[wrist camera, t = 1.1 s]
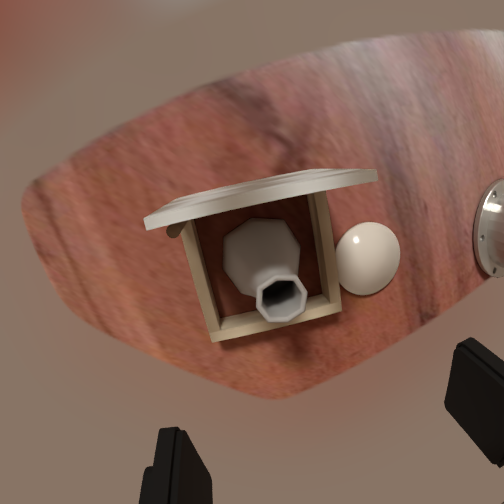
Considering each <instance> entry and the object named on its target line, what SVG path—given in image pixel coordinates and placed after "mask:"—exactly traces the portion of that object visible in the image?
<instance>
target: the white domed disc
mask: <svg viewBox="0 0 504 504" xmlns="http://www.w3.org/2000/svg"><path fill="white" fill-rule="evenodd" d="M335 255H336V263H337V271H338V279H339V283H340V284H341V285H342V286H343V287H344V288H345V289H346V290H348V291H349V292H351V293H354V294H357V295H368V294H372V293H375V292H377V291H379V290H381V289H382V288H384V287H385V286H386V285H387V284H388V283H389V282H390V281H391V279H392V278H393V277H394V275H395V273H396V271H397V268H398V265H399V261H400V247H399V243H398V241H397V238H396V236H395V235H394V234H393V232H392V231H391V230H390V229H389V228H387V227H386V226H384V225H382V224H379V223H376V222H363V223H360V224H357V225H355V226H353V227H351V228H350V229H349V230H348V231H346V232H345V233H344V234H343V236H342V237H341V238H340V240H339V242H338V243H337V245H336V248H335Z"/></svg>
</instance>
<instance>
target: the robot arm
mask: <svg viewBox="0 0 504 504" xmlns="http://www.w3.org/2000/svg"><path fill="white" fill-rule="evenodd" d="M473 241H474V251H475V255H476V259H477V261H478V264H479V266H480V267H481V269H482V270H483V271H484V272H485V273H486V274H488V275H490V276H492V277H497V278H498V277H503V276H504V179H499V180H497V181H495V182H494V183H492V184H491V185H490V186H489V187H488V189H487V190H486V192H485V193H484V195H483V197H482V199H481V201H480V204H479V207H478V209H477V213H476V218H475V223H474V236H473ZM444 404H445V408H446V410H447V411H448V412H449V413H450V414H451V415H452V417H453V418H454V419H455V420H456V421H457V422H458V424H459V425H460V426H461V427H462V428H463V429H464V431H465V432H466V433H467V434H468V435H469V436H470V438H471V439H472V440H473V441H474V443H475V444H476V445H477V446H478V447H479V449H480V450H481V451H482V452H483V453H484V455H485V456H486V457H487V458H488V459H489V461H490V462H491V463H492V464H497V466H498V467H499V468H501V467H502V466H504V361H503V360H501V359H500V358H499V357H498V356H496V355H495V354H494V353H492V352H491V351H490V350H489V349H487V348H486V347H485V346H483V345H482V344H481V343H479V342H478V341H477V340H475V339H474V338H471V337H470V338H468V339H466V340H464V341H462V342H460V343H458V344H457V346H456V349H455V350H454V353H453V360H452V366H451V371H450V377H449V382H448V387H447V392H446V396H445V401H444ZM139 504H213V498H212V479H211V476H210V474H209V472H208V470H207V468H206V467H205V465H204V463H203V462H202V460H201V458H200V456H199V455H198V453H197V451H196V449H195V447H194V445H193V444H192V442H191V440H190V438H189V436H188V434H187V432H186V431H185V430H180V429H179V428H178V427H170V428H161V429H160V430H159V434H158V439H157V445H156V451H155V457H154V463H153V466H149V467H147V468H146V469H145V471H144V475H143V481H142V486H141V492H140V499H139ZM502 504H504V502H503V503H502Z"/></svg>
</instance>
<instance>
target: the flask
mask: <svg viewBox="0 0 504 504" xmlns="http://www.w3.org/2000/svg"><path fill="white" fill-rule="evenodd" d="M300 248H301V245H300V244H299V242H298V241H297V239H296V238H295V236H294V234H293V233H292V231H291V230H290V228H289V227H288V225H287V224H286V222H285V220H284V219H263V218H250V219H249V220H247V221H246V222H244V223H243V224H241V225H240V226H238V227H237V228H236V229H234V230H233V231H231V232H230V233H228V234H227V235H225V236H224V237H223V265H222V269H223V270H224V271H225V273H226V274H227V275H228V277H229V278H230V280H231V281H232V282H233V284H234V285H235V286H236V288H237V289H238V290H239V292H240V293H242V294H245V295H250V296H253V297H256V308H257V309H258V311H259V312H260V313H261V314H262V316H263V317H264V318H265V320H266V321H267V322H268V323H288V322H290V321H291V320H293V319H294V318H296V317H297V316H299V315H300V314H302V313H304V312H305V309H306V301H307V293H308V292H307V290H306V289H305V287H304V286H303V284H302V283H301V281H300V280H299V278H298V269H299V259H300Z"/></svg>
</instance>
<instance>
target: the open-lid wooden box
mask: <svg viewBox="0 0 504 504" xmlns="http://www.w3.org/2000/svg"><path fill="white" fill-rule="evenodd" d="M373 181H378V176H377V170H376V169H310V170H305V171H299V172H294V173H288V174H283V175H278V176H273V177H268V178H263V179H258V180H254V181H249V182H244V183H240V184H235V185H230V186H226V187H222V188H217V189H213V190H209V191H204V192H200V193H196V194H192V195H188V196H184V197H180V198H177V199H175V200H173V201H172V202H170V203H168V204H167V205H165V206H163V207H162V208H160V209H158V210H157V211H155V212H153V213H152V214H150V215H148V216H147V217H145V218H144V223H145V227H146V230H150V229H154V228H158V227H162V226H166V225H169V226H168V227H167V230H166V233H167V235H168V236H169V237H170V238H176V237H178V236H179V234H180V233H181V236H182V240H183V244H184V248H185V251H186V255H187V259H188V262H189V266H190V270H191V273H192V277H193V280H194V284H195V287H196V291H197V294H198V298H199V301H200V305H201V308H202V311H203V315H204V318H205V321H206V325H207V328H208V331H209V334H210V338H211V341H212V342H217V341H222V340H227V339H232V338H236V337H241V336H245V335H250V334H254V333H259V332H263V331H267V330H271V329H275V328H280V327H284V326H288V325H292V324H296V323H300V322H303V321H307V320H311V319H315V318H319V317H322V316H326V315H330V314H333V313H337V312H340V311H342V306H341V297H340V288H339V279H338V271H337V263H336V255H335V248H334V241H333V234H332V227H331V221H330V214H329V208H328V202H327V196H326V190H329V189H335V188H340V187H345V186H351V185H356V184H362V183H368V182H373ZM304 194H307V199H308V205H309V211H310V216H311V222H312V228H313V234H314V240H315V247H316V253H317V260H318V266H319V273H320V280H321V287H322V294H320V295H316V296H312V297H308V298H307V301H306V309H305V312H304V313H302V314H300V315H299V316H297V317H296V318H294V319H293V320H291V321H290V322H288V323H268V322H267V321H266V320H265V318H264V317H263V316H262V314H261V313H260V312H259V311H258V310H255V311H251V312H246V313H242V314H237V315H233V316H228V317H224V318H220V316H219V313H218V309H217V305H216V302H215V298H214V294H213V291H212V287H211V283H210V280H209V276H208V272H207V268H206V265H205V261H204V257H203V253H202V249H201V245H200V241H199V237H198V233H197V229H196V225H195V221H194V219H195V218H199V217H203V216H207V215H212V214H216V213H220V212H225V211H229V210H233V209H238V208H242V207H247V206H251V205H256V204H260V203H265V202H270V201H275V200H279V199H284V198H289V197H294V196H299V195H304Z"/></svg>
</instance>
